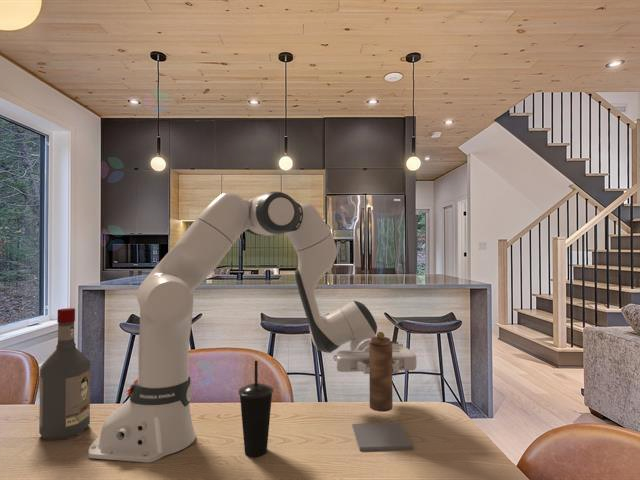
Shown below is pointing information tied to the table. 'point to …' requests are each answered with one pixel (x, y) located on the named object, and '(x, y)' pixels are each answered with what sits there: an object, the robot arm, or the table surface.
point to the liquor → (64, 385)
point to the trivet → (381, 436)
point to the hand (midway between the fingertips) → (381, 370)
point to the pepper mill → (380, 373)
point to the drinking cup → (255, 416)
